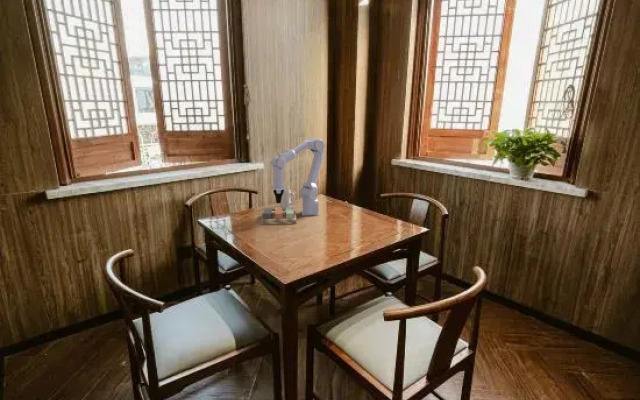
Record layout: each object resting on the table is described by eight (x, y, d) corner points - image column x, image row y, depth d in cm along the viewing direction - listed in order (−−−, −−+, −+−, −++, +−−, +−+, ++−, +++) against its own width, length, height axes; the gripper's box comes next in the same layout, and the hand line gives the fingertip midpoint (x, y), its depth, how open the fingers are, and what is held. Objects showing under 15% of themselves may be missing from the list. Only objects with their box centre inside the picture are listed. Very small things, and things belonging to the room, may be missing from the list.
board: (295, 215, 203) (295, 211, 202) (296, 223, 188) (296, 219, 188) (262, 215, 200) (262, 211, 200) (261, 224, 186) (261, 219, 185)
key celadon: (292, 214, 200) (292, 207, 199) (293, 220, 190) (293, 213, 189) (285, 214, 200) (285, 207, 199) (286, 220, 189) (286, 213, 188)
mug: (277, 209, 213) (277, 190, 210) (282, 206, 219) (282, 187, 216) (292, 211, 209) (292, 192, 206) (297, 208, 215) (297, 189, 212)
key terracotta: (282, 214, 199) (282, 207, 198) (282, 220, 189) (282, 213, 188) (275, 214, 199) (275, 207, 198) (275, 220, 188) (275, 213, 187)
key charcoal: (271, 214, 199) (271, 207, 198) (271, 220, 188) (271, 213, 187) (264, 214, 198) (264, 207, 197) (263, 220, 188) (263, 213, 187)
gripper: (271, 175, 194) (271, 199, 198) (270, 181, 181) (271, 206, 184) (283, 175, 195) (283, 199, 199) (284, 181, 181) (284, 206, 185)
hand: (278, 202), depth 192 cm, fingers closed
